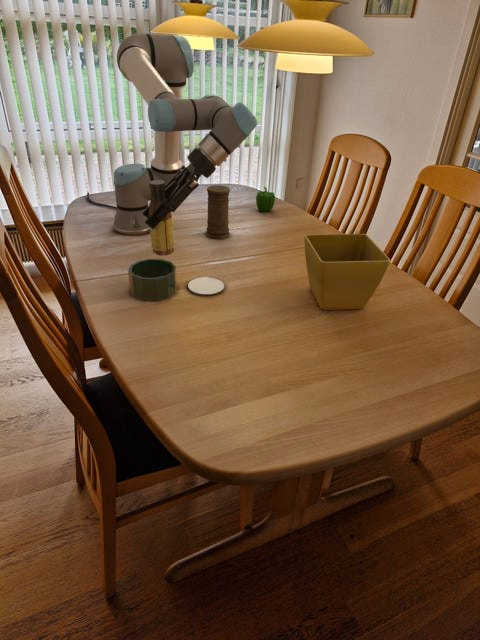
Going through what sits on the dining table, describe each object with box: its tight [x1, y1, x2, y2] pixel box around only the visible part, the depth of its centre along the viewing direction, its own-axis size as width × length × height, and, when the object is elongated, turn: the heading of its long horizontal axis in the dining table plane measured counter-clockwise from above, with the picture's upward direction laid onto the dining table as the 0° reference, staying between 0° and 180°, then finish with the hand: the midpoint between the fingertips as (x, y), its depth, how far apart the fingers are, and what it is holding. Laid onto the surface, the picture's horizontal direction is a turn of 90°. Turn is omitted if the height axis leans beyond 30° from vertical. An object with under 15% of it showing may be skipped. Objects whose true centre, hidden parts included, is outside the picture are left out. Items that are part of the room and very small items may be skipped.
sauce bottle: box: [148, 180, 175, 257], centre depth 119 cm, size 7×6×20 cm
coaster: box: [187, 276, 225, 297], centre depth 133 cm, size 11×11×1 cm
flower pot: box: [304, 233, 391, 311], centre depth 126 cm, size 19×19×17 cm
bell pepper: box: [255, 186, 276, 213], centre depth 193 cm, size 8×8×10 cm
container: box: [205, 184, 231, 240], centre depth 164 cm, size 9×9×18 cm
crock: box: [127, 258, 178, 302], centre depth 128 cm, size 13×13×7 cm
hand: (147, 221), depth 119 cm, fingers closed on sauce bottle, 6 cm apart
